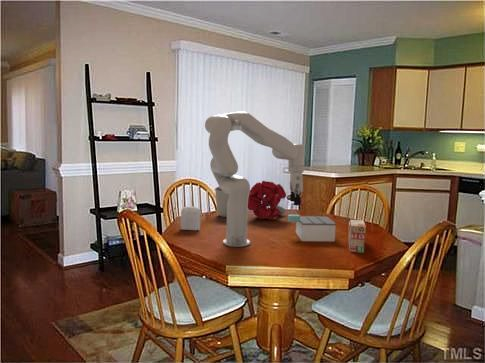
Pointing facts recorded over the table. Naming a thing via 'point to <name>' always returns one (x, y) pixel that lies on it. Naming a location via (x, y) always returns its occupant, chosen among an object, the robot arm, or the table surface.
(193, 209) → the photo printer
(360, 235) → the printed milk carton
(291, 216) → the lid
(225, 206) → the canister
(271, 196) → the bouquet
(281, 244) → the table surface
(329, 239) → the tub
